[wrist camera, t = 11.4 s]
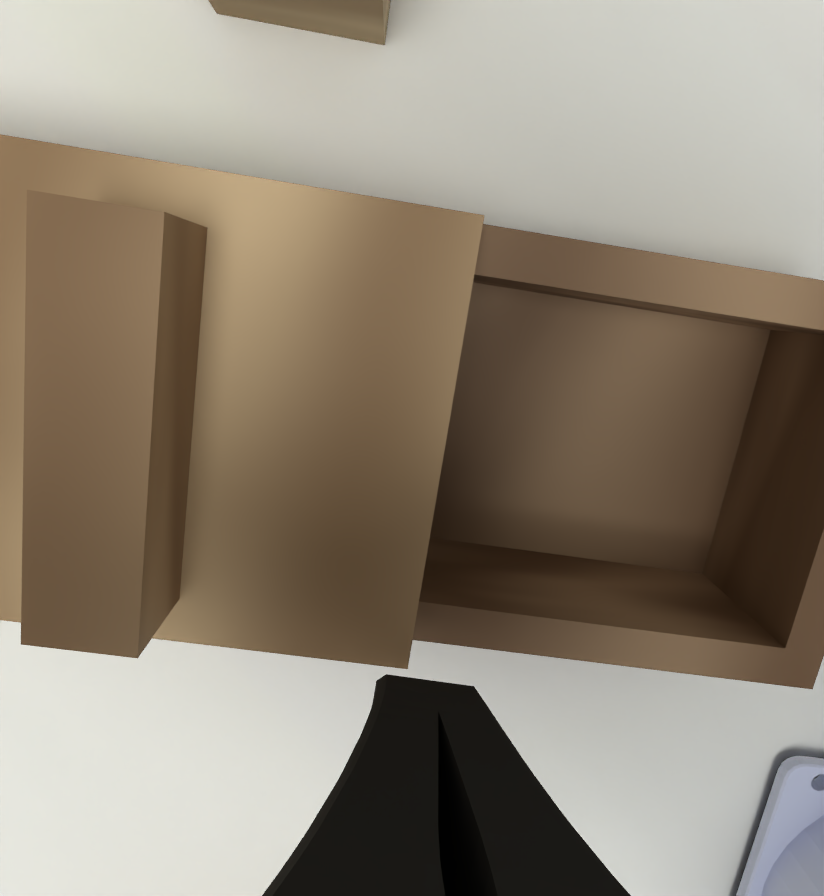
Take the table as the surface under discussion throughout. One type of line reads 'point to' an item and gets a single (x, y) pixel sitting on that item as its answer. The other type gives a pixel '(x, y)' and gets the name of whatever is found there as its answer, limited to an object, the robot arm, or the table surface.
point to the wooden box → (633, 464)
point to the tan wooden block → (316, 15)
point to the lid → (220, 405)
